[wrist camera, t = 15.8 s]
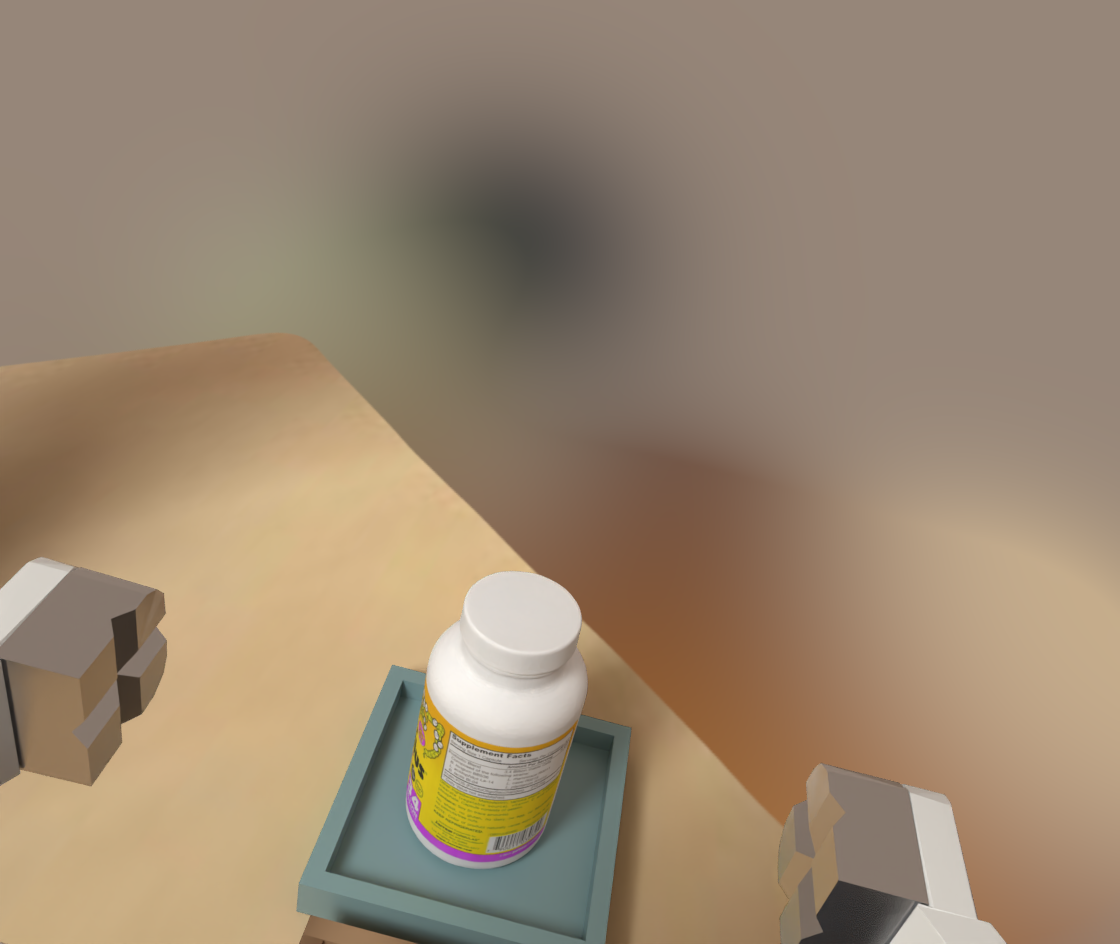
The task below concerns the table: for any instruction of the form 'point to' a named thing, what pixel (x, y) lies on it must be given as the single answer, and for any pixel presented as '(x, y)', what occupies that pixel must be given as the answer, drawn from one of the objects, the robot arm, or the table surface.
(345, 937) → the brown wooden tray
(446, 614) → the table surface
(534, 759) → the supplement bottle
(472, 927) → the tray
